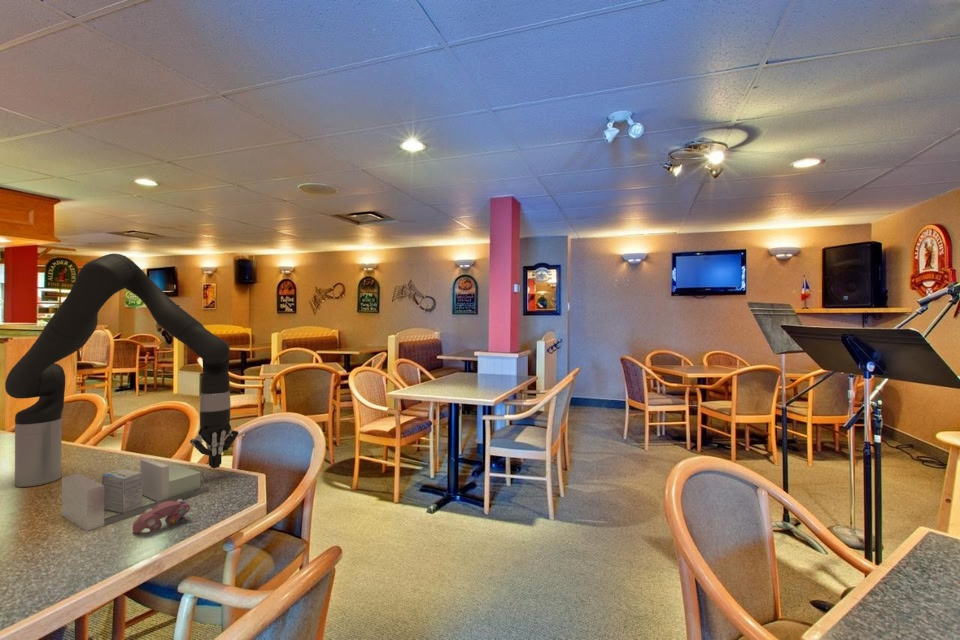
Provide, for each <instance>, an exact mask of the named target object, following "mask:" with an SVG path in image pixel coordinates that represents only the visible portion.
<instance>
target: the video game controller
mask: <svg viewBox="0 0 960 640" xmlns="http://www.w3.org/2000/svg"><path fill="white" fill-rule="evenodd" d="M190 509H191V505H190V504H189V503H188V502H187V501H185V499H184V500H182V499H179V500H177V501H167V502H163V503H161V504H159V505H157V506H155V507H153V508H152V509H151V508H150V509H147V510H146V511H145V512H144V513H141V514H139V516H138V518H137V519H136V520H135V521H134V522H133V524H132V532H133V533H134V534H138V533H141V532H142V531H143V530H146V529H149V531H151V532H155V530H156V531H157V530H160V528H161V527H162V526H163V522H162V521H161V519H163V518H165V519H164V522H165V524H166V525H167V526H172V524H173V525H175V524H176V523H177V522H178V521H179V519H181V518H183V517H185V516H186V514H188V512H189V511H190Z"/></svg>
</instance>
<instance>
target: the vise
mask: <svg viewBox="0 0 960 640" xmlns="http://www.w3.org/2000/svg"><path fill="white" fill-rule="evenodd" d="M209 491H210V486H208V485H206V486H202V487H200V488H199V489H196V490H193V491H190V492H186V493H183V494H180V495H177V496H174V497H171V498H167V499H164V500H161V501H155V502H153V503H149V504H146V505H143V506H142V507H139V508H136V509H133V510H130V511H126V512H123V513H117V514H114V515H111V516H108V517H105V509H104V485H102V483H101V482H97V481H96V480H93V479H91V478H89V477H88V476H86V475H83V474H81V473H79V472H78V473H75V474H71V475H66V476H61V517H63V518H65V519H67V520H68V521H70V522H72V523H73V524H74V523H75V525H76V526H78V527H79V528H81V529H83V530H84V531H85V532H89V531H92V530H95V529H98V528H101V527H104V526H107V525H111V524H113V523H116V522H120V521H123V520H125V519H128V518H131V517H135V516H137V515H141V514H142V513H144V512H145V511H146V510H147V509H150V508H151V509H152V508H153V507H155V506H157V505H159V504H161V503H163V502H167V501H177V500H179V499H182V500H184V501H185V500H187V499H190V498H192V497H195V496H199V495H201V493H202V494H205V493H208V492H209ZM204 492H205V493H204ZM198 494H199V495H198ZM189 497H190V498H189Z"/></svg>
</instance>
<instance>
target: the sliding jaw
mask: <svg viewBox="0 0 960 640" xmlns="http://www.w3.org/2000/svg"><path fill="white" fill-rule="evenodd" d="M139 472H141V473H142V496H143V497H144V496H145V497H146V498H149V499H151V500H153V501H155V502H158V501H161V500H164V499H167V498H171V497H174V496H177V495H180V494H183V493H186V492H190V491H193V490H196V489H199V488H201V472H200V471H197V470H194V469H191V468H188V467H185V466H183V465H179V464H177V465H172V466H169V465H167V464H166V463H162V462H159V461H156V460H153V459H151V458H147V457H145V458H141V459H140V471H139Z"/></svg>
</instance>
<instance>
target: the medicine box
mask: <svg viewBox="0 0 960 640" xmlns="http://www.w3.org/2000/svg"><path fill="white" fill-rule="evenodd" d="M101 484H102V485H104V511H105V510H106V511H111V512H115V513H118V514H120V513H123V512H126V511H130V510H133V509H136V508H139V507H142V506H144V504H143V503H144V502H143V495H142V473H141V472H140V471H137V470H130V469H124V468H119V469H116V470H112V471H109V472H106V473H104V474H102V476H101Z"/></svg>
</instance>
